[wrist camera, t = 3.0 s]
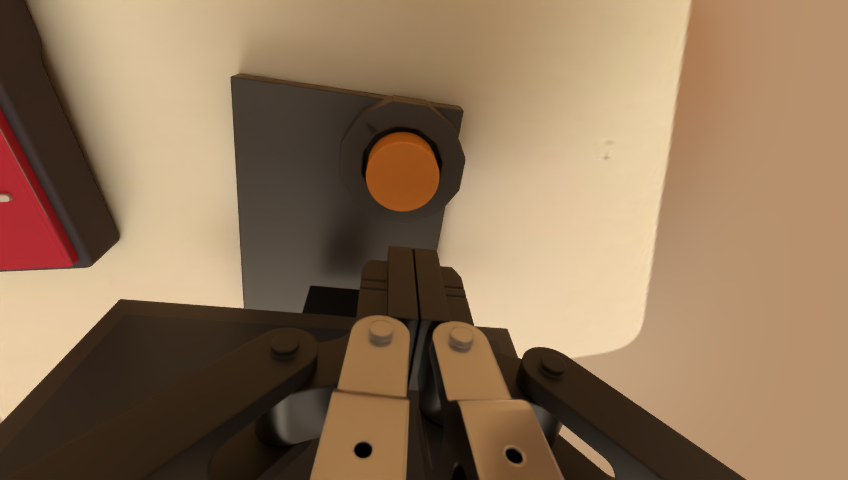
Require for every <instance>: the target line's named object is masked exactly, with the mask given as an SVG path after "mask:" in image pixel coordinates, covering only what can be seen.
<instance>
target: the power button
mask: <svg viewBox="0 0 848 480" xmlns="http://www.w3.org/2000/svg"><path fill="white" fill-rule="evenodd" d="M366 183H367V187H368V189H369V192H370V193H371V195H372V196H373V198H374V199H375V200H376V201H377V202H378V203H379V204H381V205H382V206H384V207H386V208H388V209H391V210H394V211H411V210H414V209H417V208H419V207H421V206H423V205H425V204H426V203H427V202H428V201H429V200H430V199H431V198H432V197H433V195H434V194H435V192H436V190H437V187H438V184H439V168H438V165H437V162H436V159H435V156H434V153H433V150H432V148H431V147H430V145H429V144H428V143H427V142H426V141H425V140H424V139H423V138H421V137H420V136H418V135H416V134H413V133H410V132H394V133H390V134H388V135H386V136H384V137H382V138H381V139H380V140H379V141H377V142H376V144H375V145H374V146H373V148H372V149H371V152H370V154H369V158H368V164H367V170H366Z"/></svg>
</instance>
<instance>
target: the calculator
mask: <svg viewBox="0 0 848 480" xmlns="http://www.w3.org/2000/svg"><path fill="white" fill-rule="evenodd" d="M118 240H119V235H118V233H117V230H116V228H115V226H114V224H113V221H112V219H111V217H110V215H109V212H108V210H107V208H106V206H105V204H104V201H103V199H102V197H101V195H100V192H99V190H98V188H97V186H96V183H95V181H94V179H93V177H92V175H91V172H90V170H89V168H88V166H87V163H86V161H85V159H84V157H83V155H82V152H81V150H80V148H79V146H78V143H77V141H76V139H75V137H74V134H73V132H72V130H71V128H70V126H69V123H68V121H67V119H66V117H65V114H64V112H63V110H62V108H61V105H60V103H59V101H58V99H57V97H56V94H55V92H54V90H53V88H52V85H51V83H50V81H49V79H48V76H47V74H46V72H45V70H44V67H43V65H42V62H41V40H40V37H39V35H38V33H37V31H36V28H35V26H34V24H33V21H32V19H31V17H30V15H29V12H28V10H27V8H26V5H25V3H24V1H23V0H0V272H3V271H26V270H48V269H71V268H87V267H90V266H92V265H93V264H94V263H95V262H96V261H97V260H98V259H100V258H101V257H102V256H103V255H104V254H105V253H106V252H107V251H108V250H109V249H110V248H111V247H112V246H113V245H115V244H116V243H117V242H118Z"/></svg>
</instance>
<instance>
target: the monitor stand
mask: <svg viewBox="0 0 848 480" xmlns="http://www.w3.org/2000/svg"><path fill="white" fill-rule="evenodd" d="M358 299H359V289H347V288H336V287H324V286H312V285H311V286H310V288H309V291H308V295H307V298H306V301H305V304H304V308H303V311H302V313H307V314H320V315H333V316H346V317H356V315H357V307H358Z"/></svg>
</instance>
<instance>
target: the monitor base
mask: <svg viewBox="0 0 848 480" xmlns="http://www.w3.org/2000/svg"><path fill="white" fill-rule="evenodd" d="M231 91H232V109H233V126H234V144H235V161H236V178H237V196H238V213H239V231H240V248H241V265H242V283H243V300H244V309H255V310H268V311H281V312H294V313H302V311H303V308H304V304H305V301H306V298H307V295H308V291H309V288H310V286H311V285H312V286H324V287H336V288H347V289H359V290H360V282H361V273H362V267H363V266H364V265H365V264H366V263H367V262H368V261H369V260H370V259H371V260H381V261H386V259H387V252H388V246H399V247H409V248H412V250H413V248H419V249H429V250H437V247H438V242H439V236H440V231H441V226H442V221H443V216H444V210H445V206H446V205H447V204H448V202H449V201H450V200H451V199H452V198H453V197H454V196H455V194H456V193H457V192H458V191H459V189H460V184H461V179H462V174H463V169H464V165H465V156H464V153H463V150H462V147H461V144H460V142H459V139H458V137H459V132H460V127H461V122H462V117H463V110H462V108H461V107H460V106H453V105H447V104H440V103H433V102H427V101H425V100H421V99H414V98H407V97H400V96H386V95H379V94H372V93H366V92H359V91H352V90H345V89H339V88H332V87H325V86H318V85H311V84H305V83H298V82H291V81H284V80H278V79H271V78H264V77H257V76H251V75H244V74H237V75H234V76H231ZM394 132H410V133H413V134H416V135H418V136H420V137H421V138H423V139H424V140H425V141H426V142H427V143H428V144H429V145H430V147H431V148H432V150H433V153H434V156H435V159H436V162H437V165H438V168H439V184H438V187H437V190H436V192H435V194H434V195H433V197H432V198H431V199H430V200H429V201H428V202H427V203H426V204H425V205H423V206H421V207H419V208H417V209H414V210H411V211H394V210H391V209H388V208H386V207H384V206H382V205H381V204H379V203H378V202H377V201H376V200H375V199H374V198H373V196H372V195H371V193H370V192H369V189H368V187H367V183H366V170H367V164H368V158H369V154H370V152H371V149H372V148H373V146H374V145H375V144H376V142H377V141H379V140H380V139H381V138H382V137H384V136H386V135H388V134H390V133H394Z"/></svg>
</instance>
